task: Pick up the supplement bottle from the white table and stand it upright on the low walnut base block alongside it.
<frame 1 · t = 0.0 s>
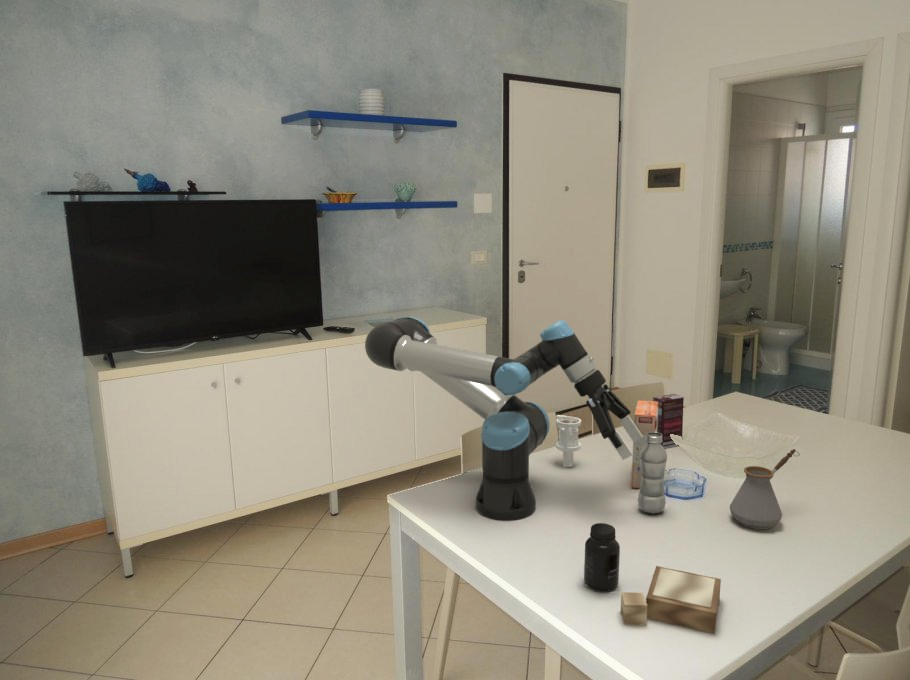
hand: (633, 448, 165), 15 cm above the table, tool tilted 35°, fingers open, 13 cm apart
supplement box: (666, 445, 210), on the table
supplement bottle: (601, 584, 134), on the table
cracker box: (643, 480, 184), on the table
plastic bottle: (651, 511, 165), on the table
base: (683, 607, 126), on the table
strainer: (567, 465, 195), on the table
beech cube: (633, 618, 123), on the table
coffee pot: (766, 517, 161), on the table
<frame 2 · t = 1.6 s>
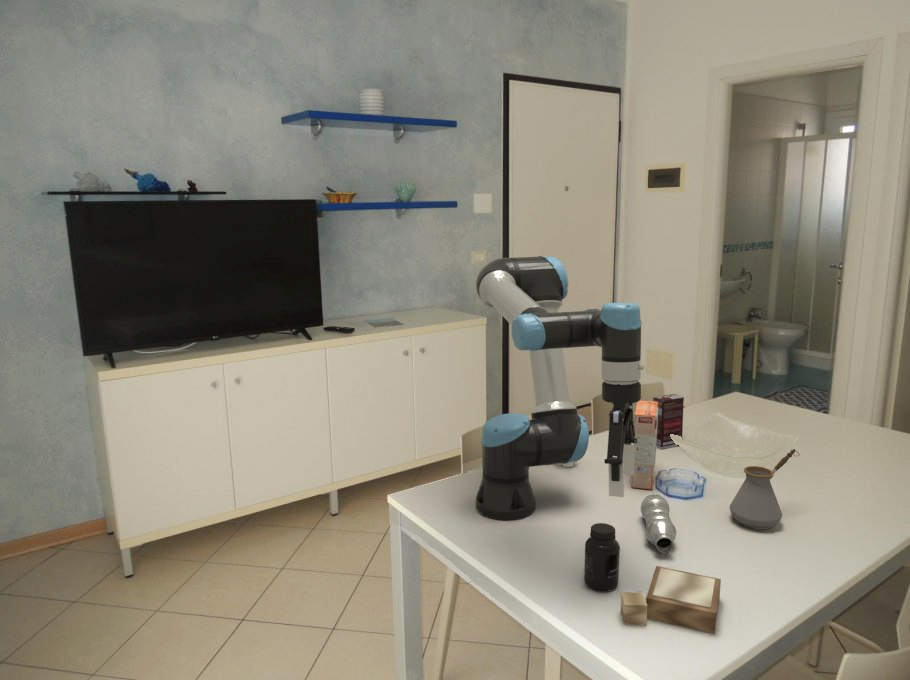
hand: (621, 484, 134), 19 cm above the table, tool pointing down, fingers open, 13 cm apart
plastic bottle: (653, 503, 162), point 3 cm above the table
everything else where it was.
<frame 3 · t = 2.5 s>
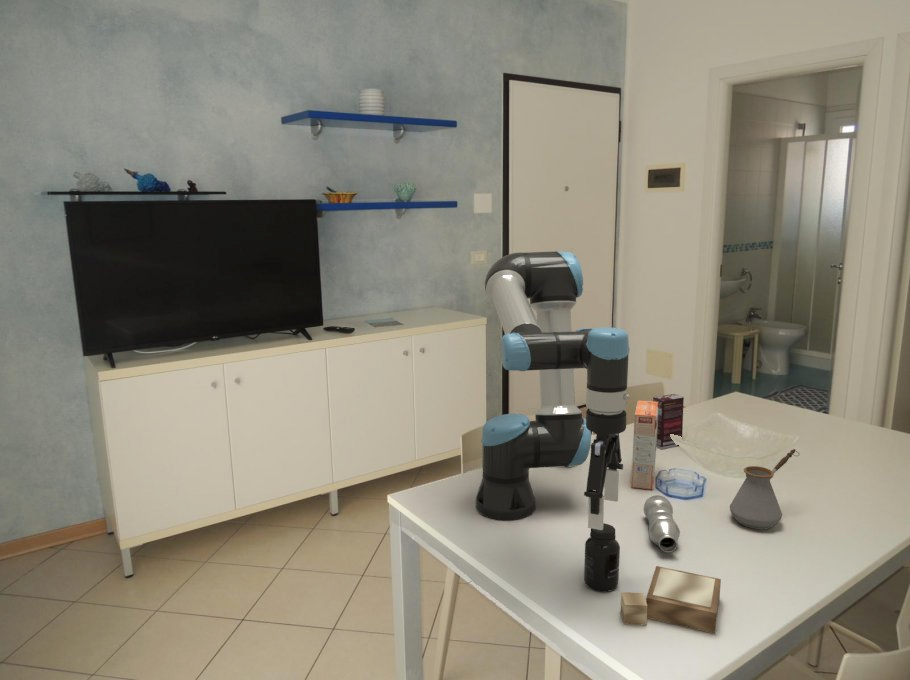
hand: (603, 513, 131), 15 cm above the table, tool pointing down, fingers open, 13 cm apart
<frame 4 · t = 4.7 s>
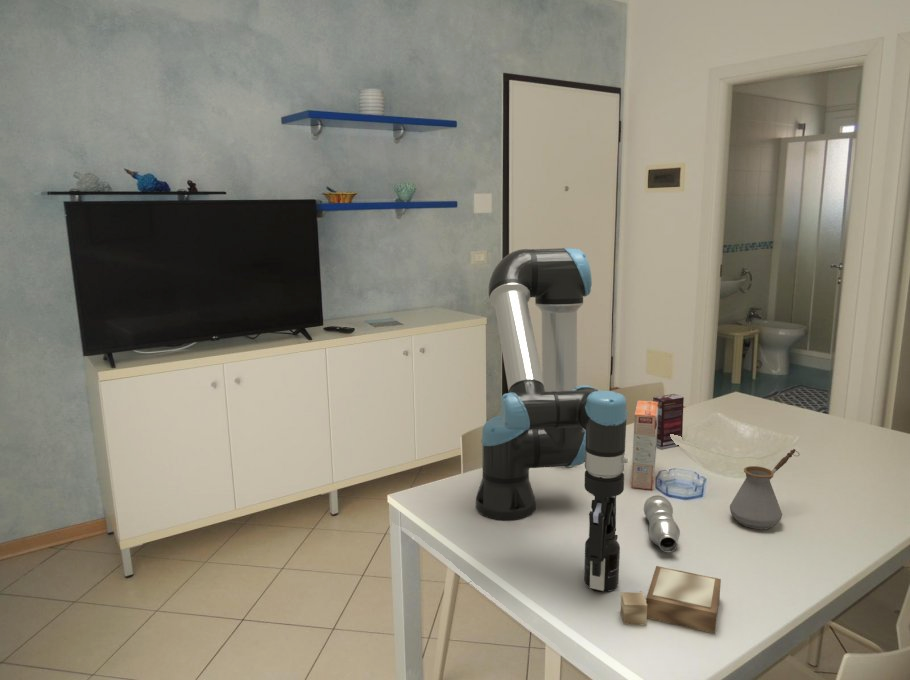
hand: (601, 578, 134), 1 cm above the table, tool pointing down, fingers closed on supplement bottle, 7 cm apart
supplement bottle: (601, 584, 134), on the table, touching gripper
everything else where it was.
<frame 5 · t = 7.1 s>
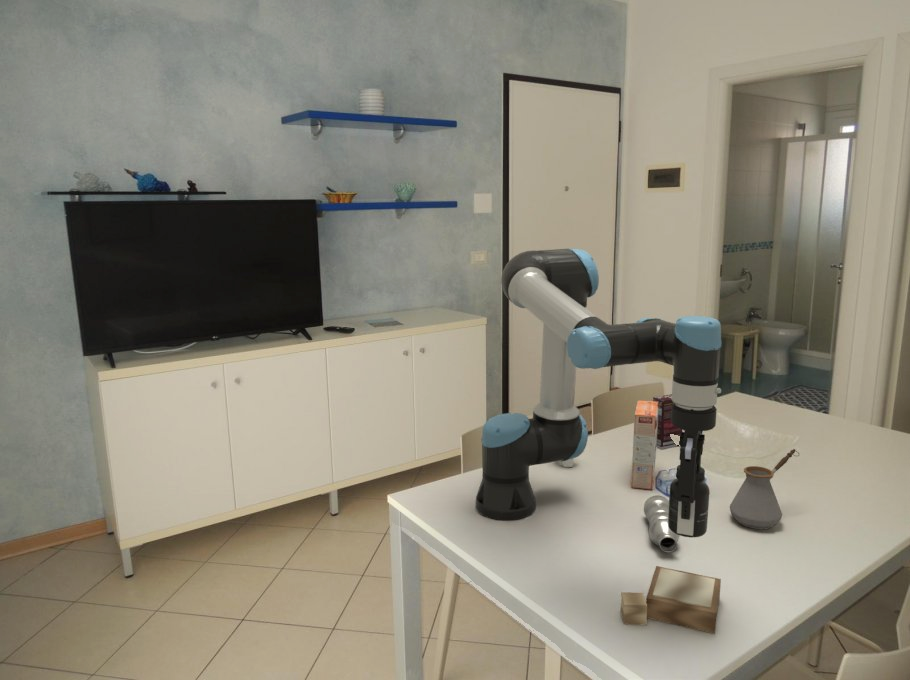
hand: (687, 524, 122), 17 cm above the table, tool pointing down, fingers closed on supplement bottle, 7 cm apart
supplement bottle: (687, 530, 123), point 16 cm above the table, touching gripper
everything else where it was.
when the fingers open (6 cm above the table, at t = 9.7 s): supplement bottle drops 1 cm, resting on base.
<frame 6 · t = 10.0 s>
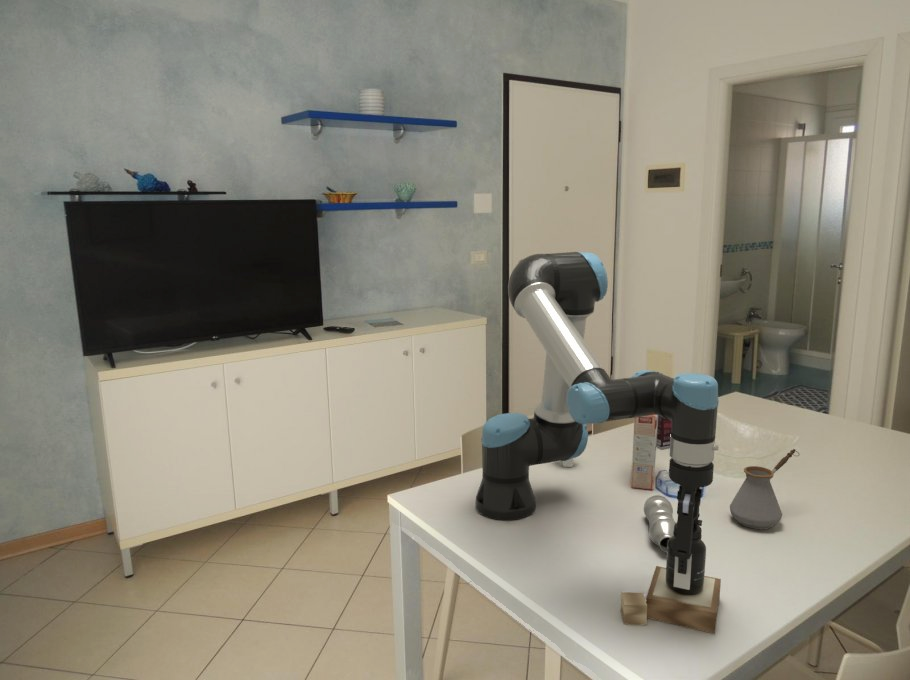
hand: (685, 571, 124), 7 cm above the table, tool pointing down, fingers open, 10 cm apart
supplement bottle: (684, 587, 125), point 4 cm above the table, touching base
everything else where it was.
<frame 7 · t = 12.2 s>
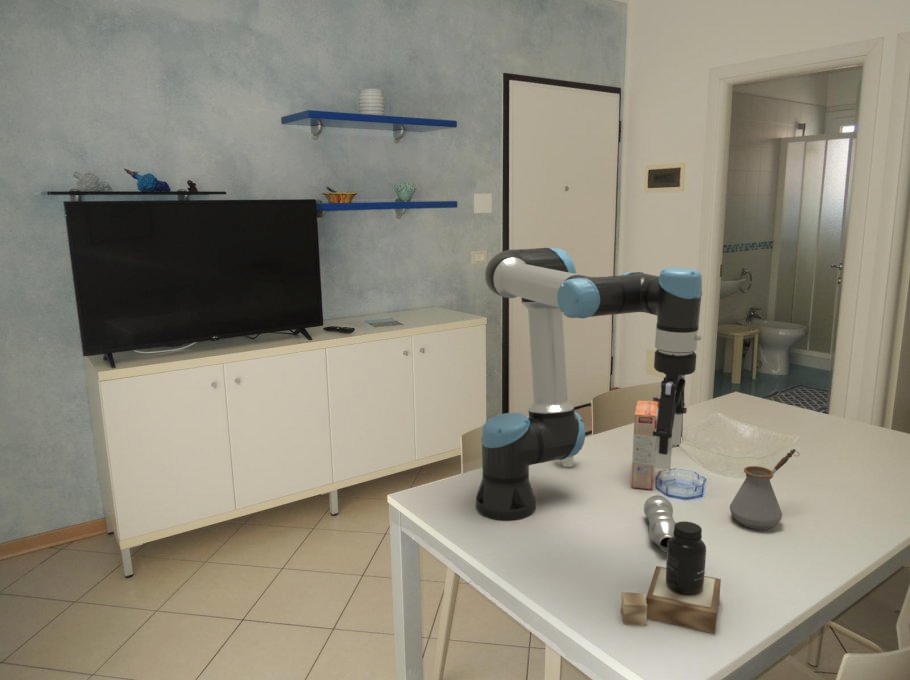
hand: (668, 455, 131), 26 cm above the table, tool pointing down, fingers open, 13 cm apart
nothing on the table moved.
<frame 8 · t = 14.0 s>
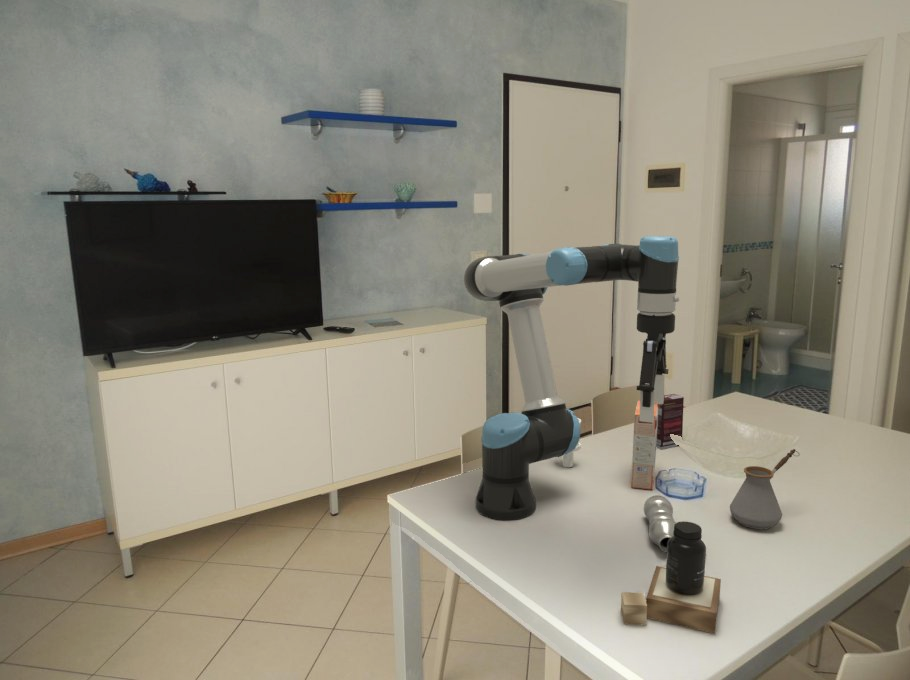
hand: (651, 412, 140), 32 cm above the table, tool pointing down, fingers open, 13 cm apart
nothing on the table moved.
at the end: supplement bottle inside the target area on the base (0.2 cm from its centre), point 4.1 cm above the base's base; supplement bottle tilted 0°; the gripper is holding nothing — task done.
